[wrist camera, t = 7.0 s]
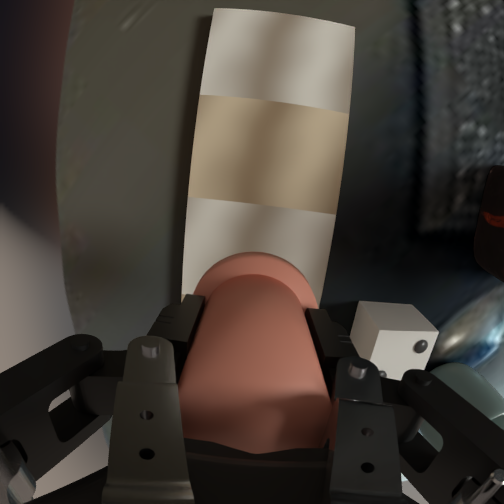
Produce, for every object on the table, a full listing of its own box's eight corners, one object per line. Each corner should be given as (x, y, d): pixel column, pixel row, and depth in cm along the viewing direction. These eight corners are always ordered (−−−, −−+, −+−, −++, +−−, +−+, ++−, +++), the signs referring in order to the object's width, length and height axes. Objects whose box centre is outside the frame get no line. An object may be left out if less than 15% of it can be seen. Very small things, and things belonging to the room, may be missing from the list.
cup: (401, 419, 28) (433, 487, 18) (405, 364, 26) (452, 437, 16) (460, 396, 27) (501, 453, 17) (471, 341, 25) (526, 397, 15)
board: (350, 33, 19) (355, 27, 17) (299, 375, 26) (300, 384, 25) (216, 15, 18) (214, 8, 17) (182, 363, 26) (180, 371, 24)
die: (411, 304, 24) (439, 332, 19) (395, 354, 25) (417, 388, 20) (358, 300, 24) (380, 331, 19) (344, 353, 25) (360, 390, 20)
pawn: (324, 259, 13) (389, 352, 6) (302, 365, 14) (327, 488, 7) (196, 244, 13) (135, 327, 6) (190, 354, 14) (152, 474, 7)
